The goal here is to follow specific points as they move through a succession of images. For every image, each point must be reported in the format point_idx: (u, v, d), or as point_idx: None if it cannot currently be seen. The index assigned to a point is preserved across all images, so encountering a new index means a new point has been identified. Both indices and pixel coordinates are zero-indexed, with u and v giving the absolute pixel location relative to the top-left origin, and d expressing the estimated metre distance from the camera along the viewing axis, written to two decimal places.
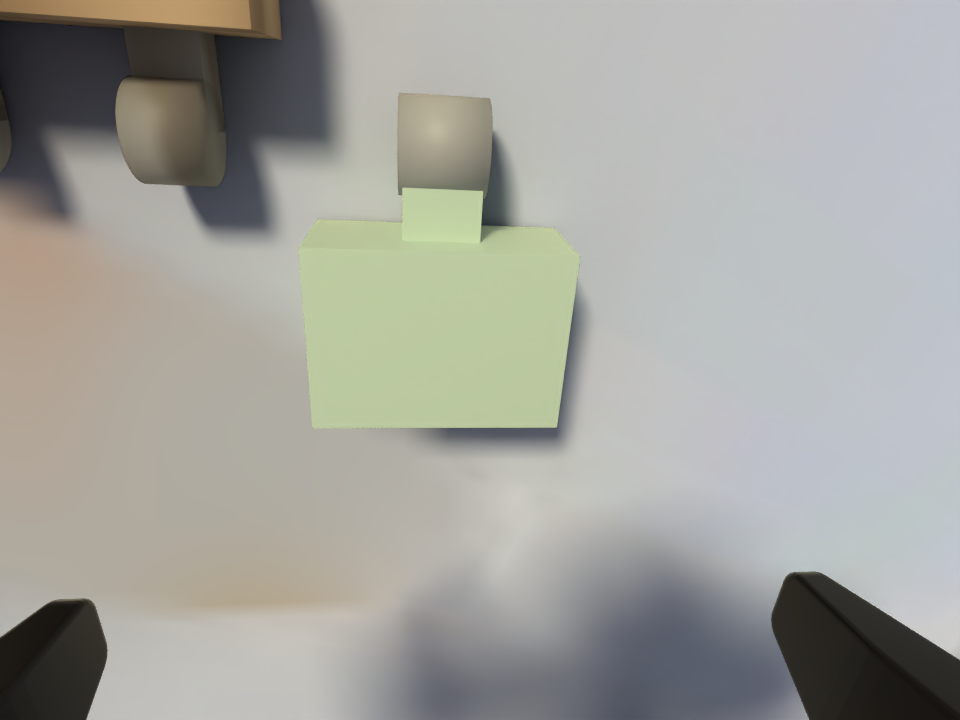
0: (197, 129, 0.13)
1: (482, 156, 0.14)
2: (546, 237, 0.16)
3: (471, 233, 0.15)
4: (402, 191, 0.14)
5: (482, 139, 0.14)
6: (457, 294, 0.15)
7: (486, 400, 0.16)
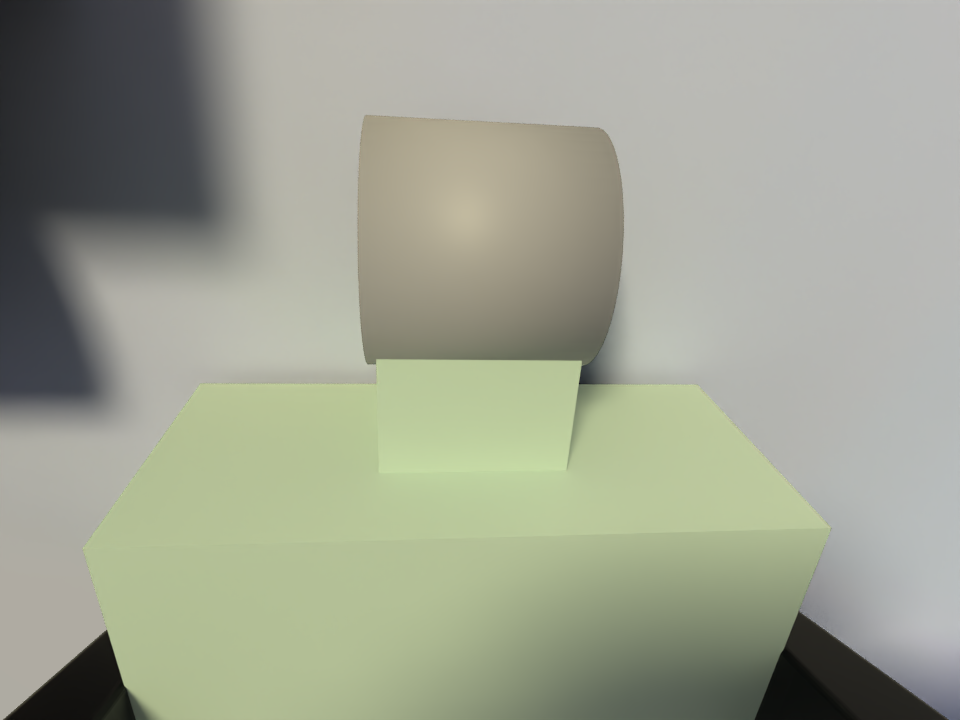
0: None
1: (594, 288, 0.05)
2: (701, 428, 0.07)
3: (547, 452, 0.06)
4: (377, 365, 0.06)
5: (596, 245, 0.05)
6: (517, 621, 0.06)
7: None
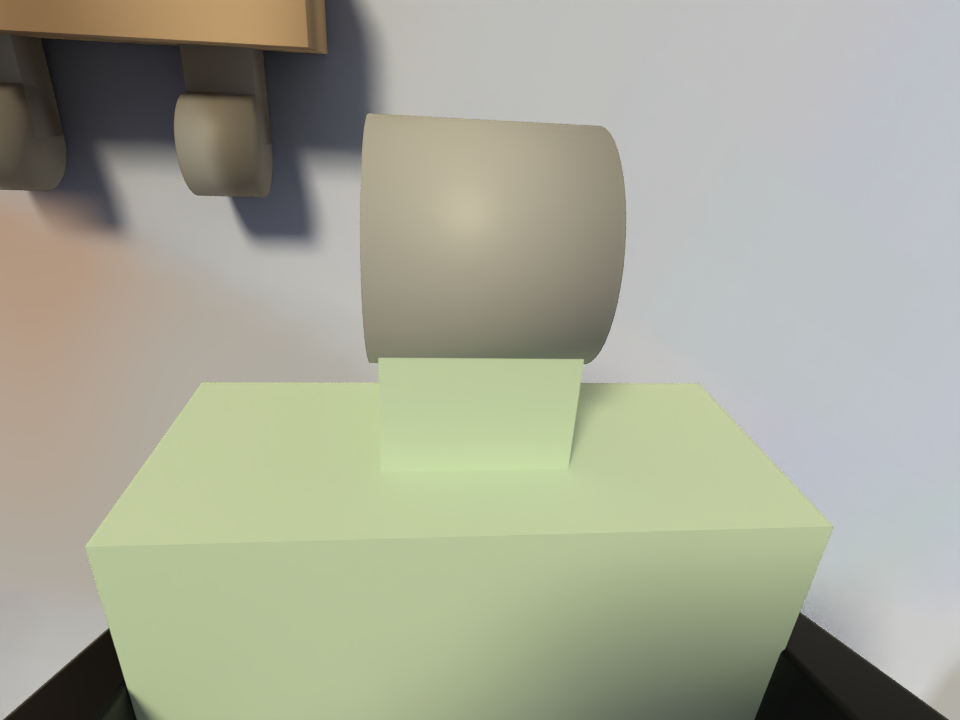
0: (251, 143, 0.14)
1: (595, 287, 0.05)
2: (702, 426, 0.07)
3: (548, 450, 0.06)
4: (379, 364, 0.06)
5: (598, 242, 0.05)
6: (519, 619, 0.06)
7: None
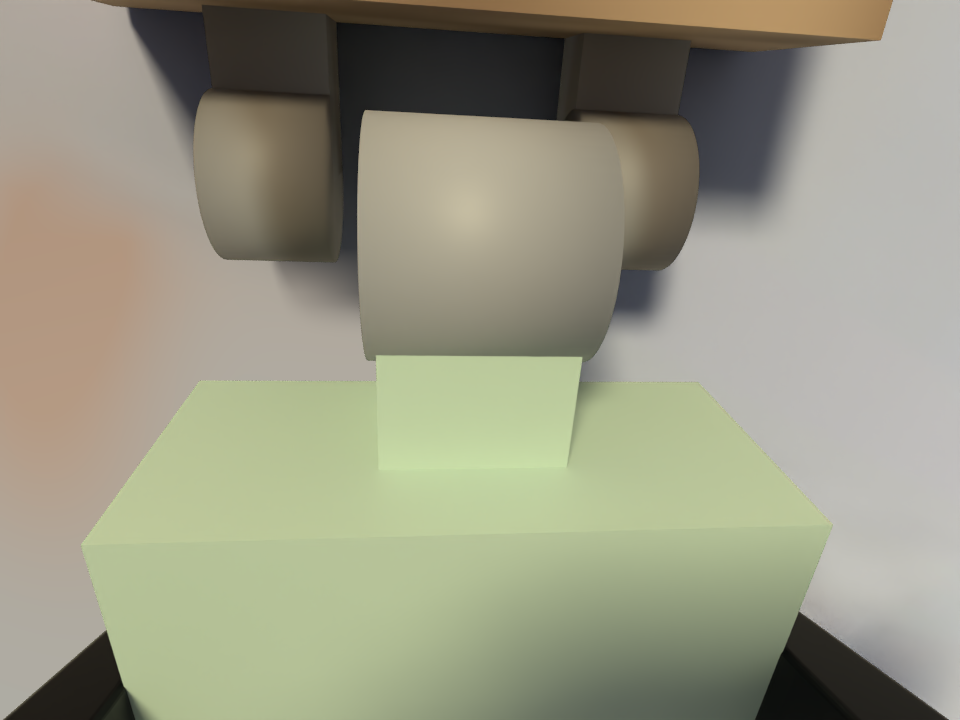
0: None
1: (594, 285, 0.05)
2: (701, 425, 0.07)
3: (547, 448, 0.06)
4: (376, 361, 0.06)
5: (596, 239, 0.05)
6: (517, 619, 0.06)
7: None
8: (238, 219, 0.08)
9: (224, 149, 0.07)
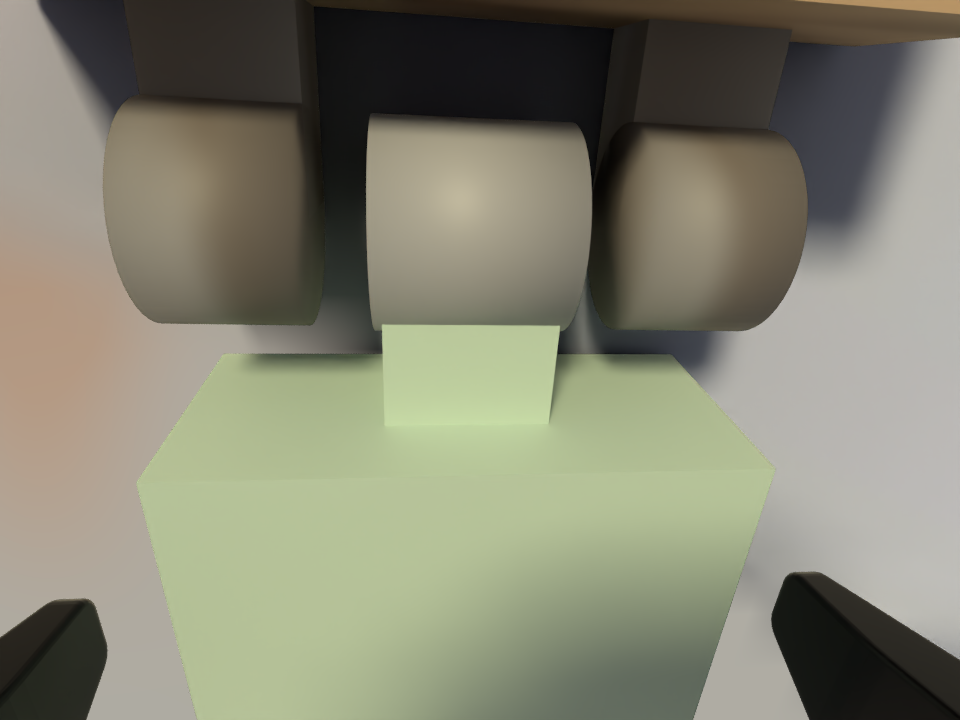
0: None
1: (567, 261, 0.06)
2: (670, 390, 0.08)
3: (531, 407, 0.07)
4: (382, 330, 0.07)
5: (568, 223, 0.06)
6: (505, 551, 0.07)
7: (556, 712, 0.08)
8: (172, 278, 0.06)
9: (148, 182, 0.05)
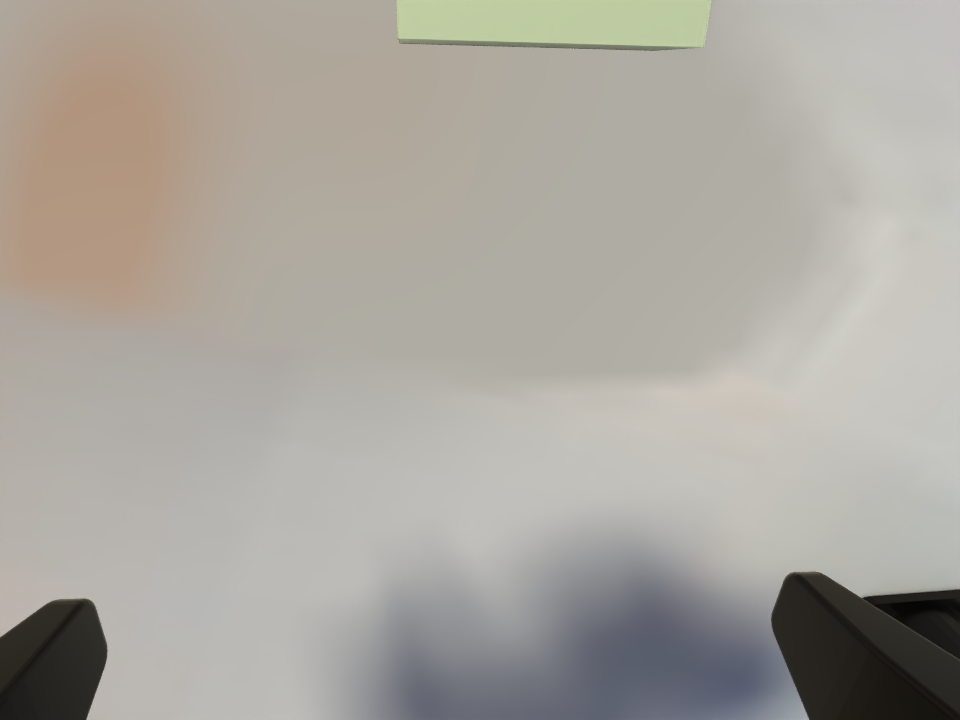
0: None
1: None
2: None
3: None
4: None
5: None
6: None
7: None
8: None
9: None
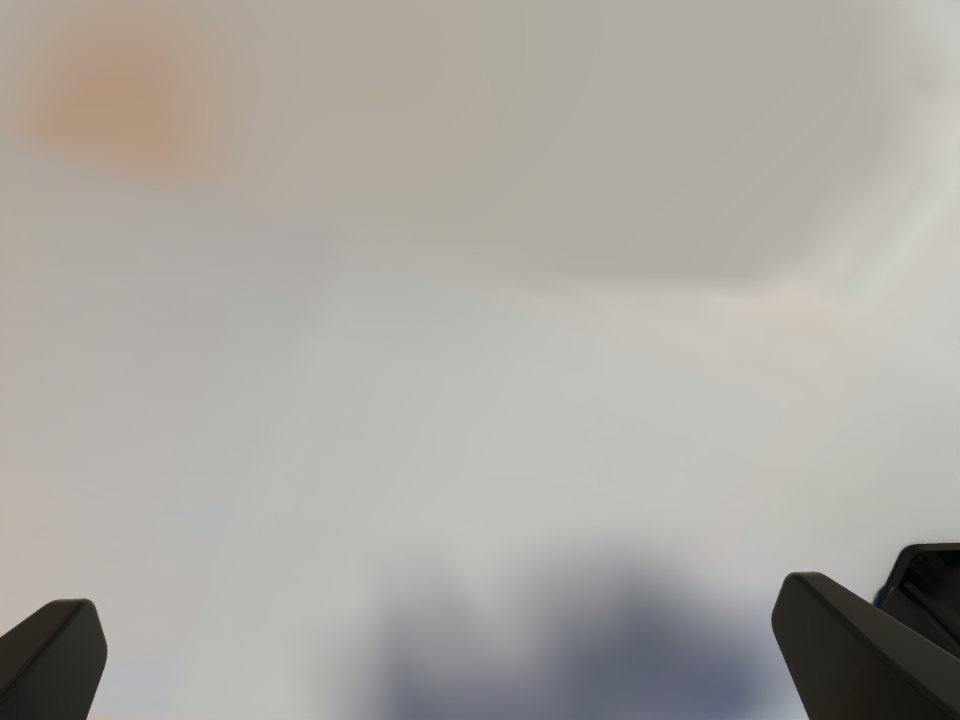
0: None
1: None
2: None
3: None
4: None
5: None
6: None
7: None
8: None
9: None
